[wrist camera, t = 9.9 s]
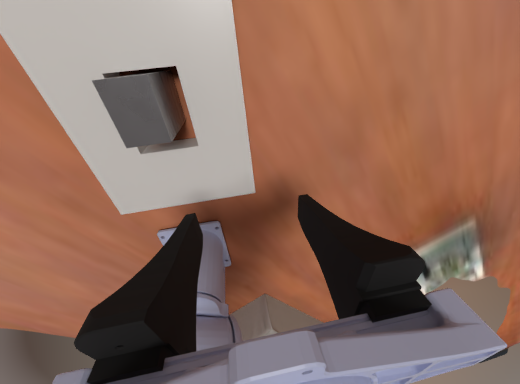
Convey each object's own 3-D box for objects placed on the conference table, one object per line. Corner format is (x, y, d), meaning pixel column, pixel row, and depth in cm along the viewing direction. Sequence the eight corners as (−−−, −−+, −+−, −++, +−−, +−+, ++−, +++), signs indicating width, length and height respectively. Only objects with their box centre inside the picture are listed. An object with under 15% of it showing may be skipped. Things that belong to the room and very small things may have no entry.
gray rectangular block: (185, 120, 18) (171, 142, 13) (153, 124, 18) (126, 148, 13) (170, 70, 16) (147, 74, 11) (133, 74, 16) (91, 80, 11)
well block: (252, 181, 23) (255, 192, 21) (130, 200, 22) (121, 214, 20) (222, -52, 13) (222, -73, 11) (-11, -37, 12) (-61, -58, 10)
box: (335, 324, 55) (264, 289, 38) (349, 358, 48) (272, 336, 32) (271, 353, 61) (187, 335, 44) (277, 387, 55) (181, 381, 38)
